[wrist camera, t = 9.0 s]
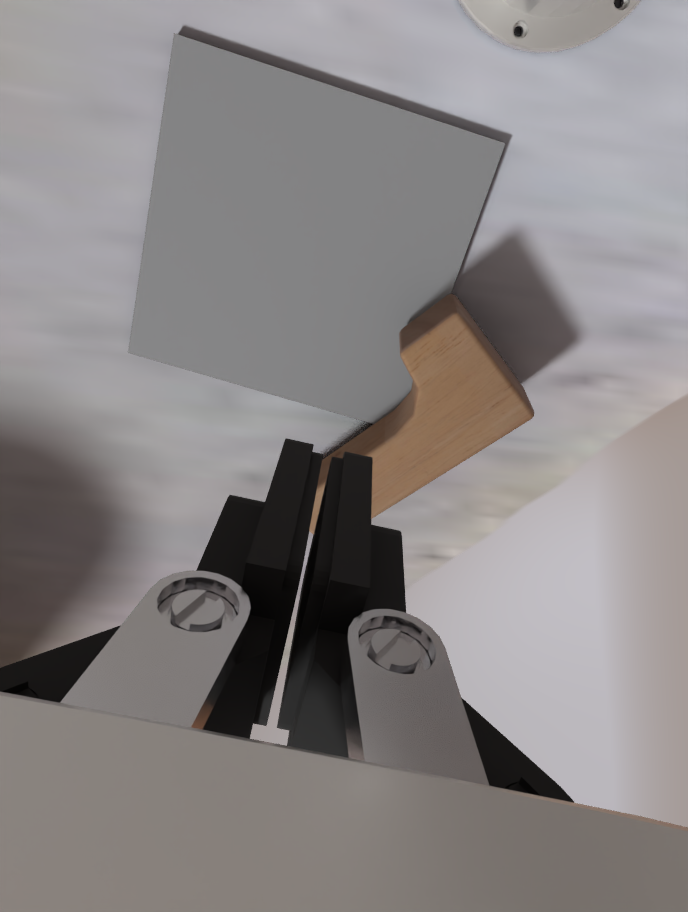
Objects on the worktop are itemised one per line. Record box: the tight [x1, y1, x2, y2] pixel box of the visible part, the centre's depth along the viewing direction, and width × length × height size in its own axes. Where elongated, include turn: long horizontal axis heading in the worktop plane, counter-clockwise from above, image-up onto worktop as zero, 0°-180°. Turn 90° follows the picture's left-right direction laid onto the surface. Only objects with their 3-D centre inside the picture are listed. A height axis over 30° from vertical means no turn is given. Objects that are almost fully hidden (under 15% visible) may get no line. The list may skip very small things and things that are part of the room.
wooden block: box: [309, 294, 534, 535], centre depth 45 cm, size 9×4×18 cm
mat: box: [128, 33, 505, 424], centre depth 42 cm, size 20×20×1 cm
